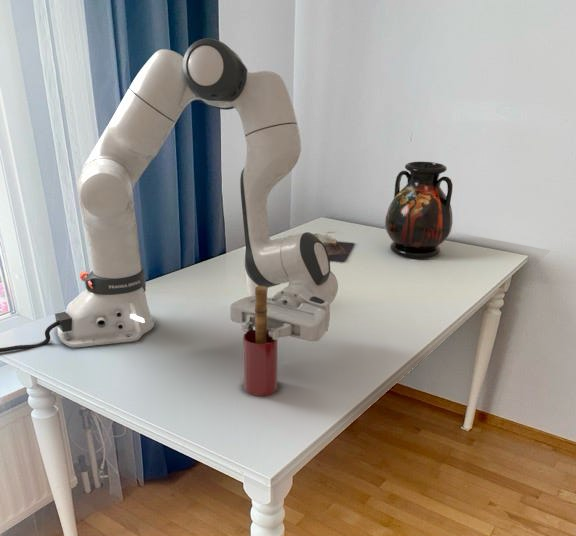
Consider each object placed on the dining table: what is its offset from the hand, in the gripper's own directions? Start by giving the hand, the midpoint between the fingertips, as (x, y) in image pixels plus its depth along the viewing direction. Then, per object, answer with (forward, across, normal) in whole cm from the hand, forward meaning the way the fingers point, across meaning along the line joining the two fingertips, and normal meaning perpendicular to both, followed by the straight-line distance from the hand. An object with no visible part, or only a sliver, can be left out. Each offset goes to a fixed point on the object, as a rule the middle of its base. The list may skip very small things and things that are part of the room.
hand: (258, 332), depth 116 cm
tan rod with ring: (-1, 0, +12) cm, 12 cm away
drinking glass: (-39, -24, +13) cm, 48 cm away
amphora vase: (-103, -2, +13) cm, 104 cm away
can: (-1, 0, +13) cm, 13 cm away
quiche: (-88, -30, +13) cm, 94 cm away
